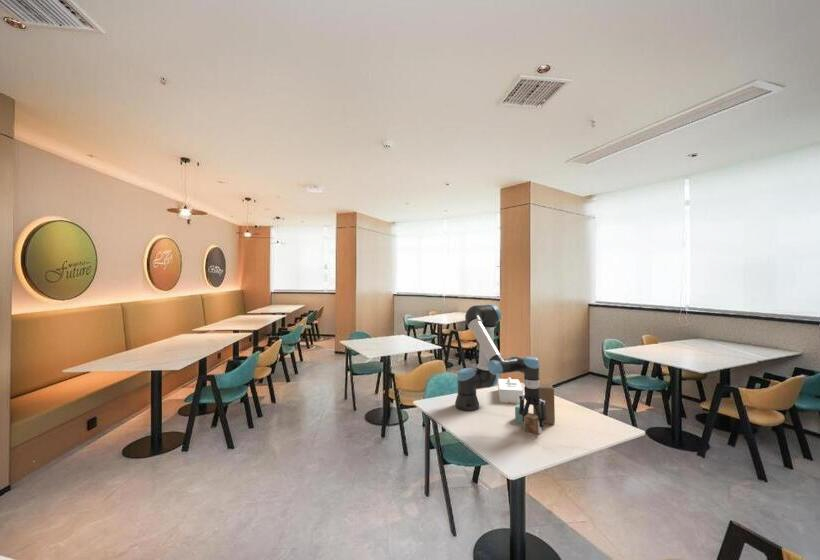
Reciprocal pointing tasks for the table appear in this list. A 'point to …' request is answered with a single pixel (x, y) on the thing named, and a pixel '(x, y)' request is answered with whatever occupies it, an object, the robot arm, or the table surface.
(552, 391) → the block
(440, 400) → the table surface
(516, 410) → the teal block
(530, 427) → the walnut block
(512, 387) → the tissue box
